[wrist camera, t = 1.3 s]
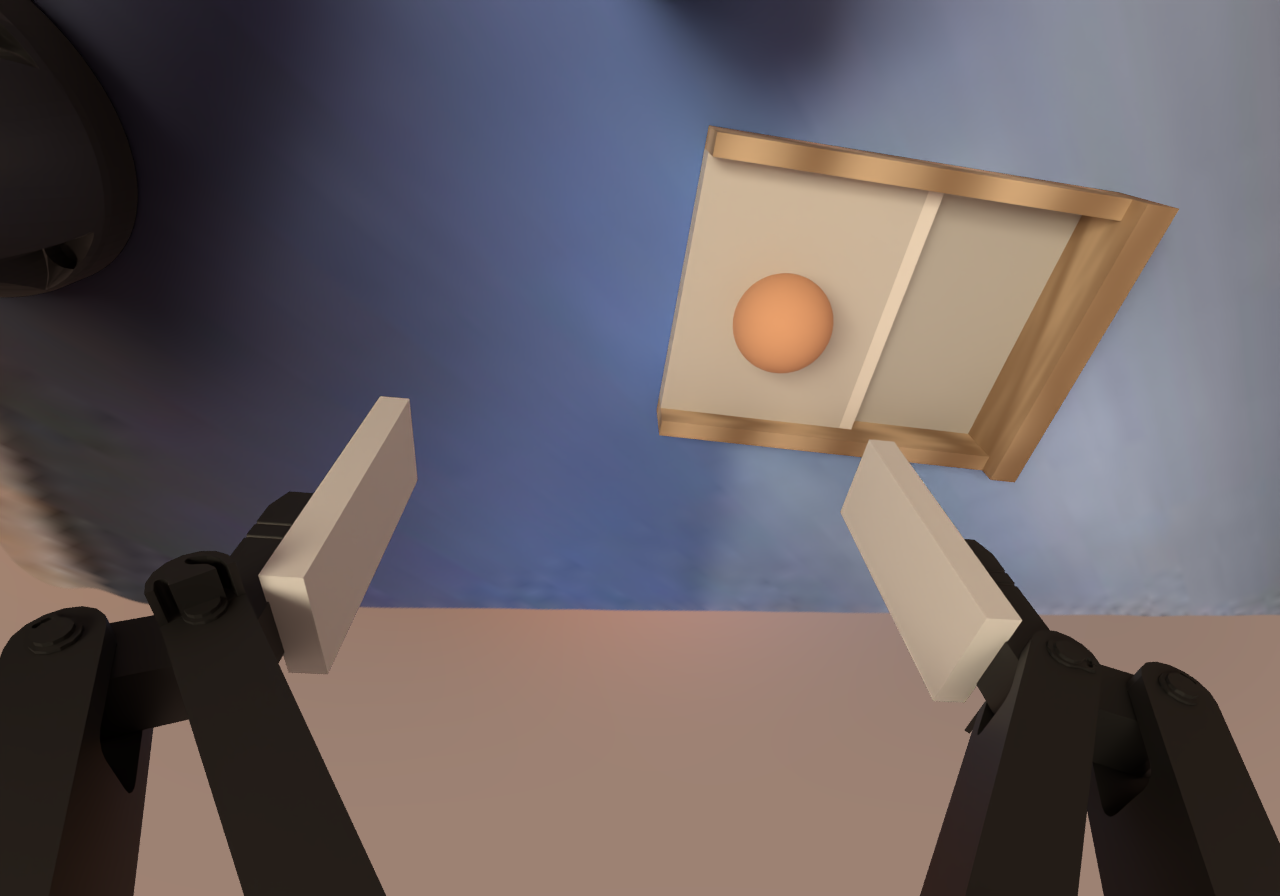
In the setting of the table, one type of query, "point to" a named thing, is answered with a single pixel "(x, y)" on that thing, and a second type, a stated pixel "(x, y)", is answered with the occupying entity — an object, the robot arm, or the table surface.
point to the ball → (783, 323)
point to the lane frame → (1047, 346)
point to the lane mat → (857, 296)
